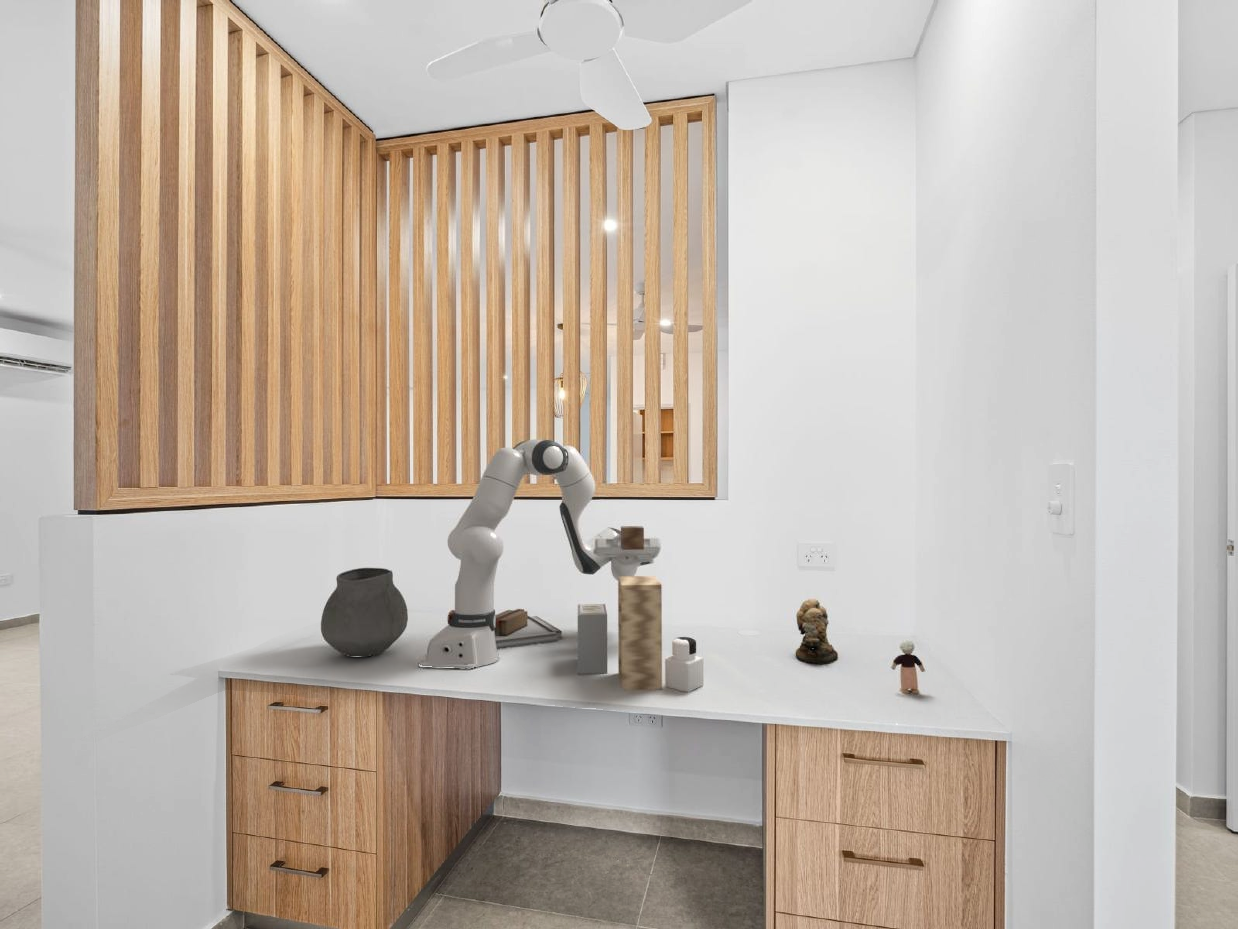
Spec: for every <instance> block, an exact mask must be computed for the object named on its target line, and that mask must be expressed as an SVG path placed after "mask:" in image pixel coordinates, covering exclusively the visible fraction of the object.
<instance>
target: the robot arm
mask: <svg viewBox="0 0 1238 929" xmlns="http://www.w3.org/2000/svg"><path fill="white" fill-rule="evenodd" d="M482 474H483V475H482V476H481V478H480V480H479V483H478V486H477V488H476V490H475V493H474V495H473V496H472V497H473V498H472V500H471V502H470V503H469V504H468V506H467V508H466V510H465V511H464V512H463V514H462V516H461V517H460V519H459V521H458V523H457V524H456V525H455V527H454V528H453V529H452V530H451V531H450V532H449V535H448V537H447V547H448V549H449V551H450V552H451V554H452V555H453V556H454V557H455V558H456V559H457V560H460V566H459V571H458V577H457V580H456V581H455V584H454V609H451V610H450V611H449V612H448V614H447V624H448V625H446V626H445V627H444V628H442V629H441V630H439V632H438V633H436V634H435V635H434V636H432V638H431V639H430V641H428V642H429V643H428V644H427V649H426V653H425V654H423V655H422V656H421V657H419V659H418V664H420V665H422V666H432V667H454V668H467V669H466V670H472V669H471V668H473V669H475V668H474V667H476V668H479V667H482V666H488V665H491V664H493V663H496V662H498V661H499V660H500V655H499V652H498V649H497V647H496V641H495V632H494V630H495V626H496V615H497V614H496V610H495V609H494V608H495V606H494V605H495V603H494V602H495V599H494V598H495V597H494V596H495V595H494V594H495V592H494V591H495V579H496V574H497V568H498V565H499V560H500V558H501V557H502V555H503V553H504V541H503V540H502V538H501V535H499V534H498V533H497V532H496V529H497V527H498V526H499V524H500V523H501V522H502V520H504V518H505V517H506V516H507V515H508V514H509V511H510V508H511V506H512V504H513V501H514V499H515V496H516V494H517V491H518V489H519V486H520V483H521V481H522V479H523V478H524V477H525V476H526V475H533V476H551V475H552V476H553V477H554V478H555V480H556V482H557V484H558V486H559V488H560V491H561V503H560V505H559V513H560V517H561V520H562V524H563V527H564V531H565V534H566V537H567V539H568V544H569V547H570V550H571V555H572V556H571V557H572V559H573V563H574V565H575V568H576V569H577V570H578V571H579V572H580V573H581V574H584V575H595V574H596V573H597V572H599V570H601V569H602V568H603V567H604V566H605V565H607V564H608V563H610V570H611V576H612V577H613V578H614V579H615V580H616V581H618V577H620V576H635V575H636V573H637V570H638V567H641V566H646V565H653V563H655V562H654V561H655V559H656V558H657V557H658V555H659V554H660V552H661V547H662V546H661V538H659V537H644V550H622V548H621V529H620V530H619V529H617V528H614V527H607V528H605V529H603V530H602V531H601V532H599V533H597V534H596V535H595V536H593V537H592V538H590V539H588V540H587V541H586V542H585V541H584V538H583V534H582V532H581V528H580V524H579V523H580V522H579V521H580V517H581V515H582V513H583V511H584V509H585V508H586V507H587V506H588V505H589V503H590V502H591V500H592V499H593V497H594V496H595V491H596V482H595V478H594V476H593V474H592V472H591V470H590V468H589V466H588V465H587V463H586V461H585V460H584V458H583V457H582V455H581V454H580V452H579V451H578V450H577V448H576V447H574V446H572V445H560V444H559V443H558V442H557V441H554V440H551V439H539V438H537V439H529V440H524V441H521V442H519V443H517V444H516V445H514V447H512V448H511V447H502V448H499V449H497V450H496V452H495V453H494V454H493V456H492V457H491V459H490V460H489V463H488V464H487V466H486V468H485V470H484V472H483V473H482Z"/></svg>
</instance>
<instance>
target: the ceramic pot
mask: <svg viewBox="0 0 1238 929" xmlns="http://www.w3.org/2000/svg"><path fill="white" fill-rule="evenodd" d="M393 574H394V573H393V571H392V570H390V569H388V568H383V567H360V568H353V569H350V570H346V571H343V572H341V573H338V575H337V576H336V578H335V579H336V587H335V589H334V590H333V592H332V593H331V594H330V596H329V597H328V599H327V600H326V603H325V605H324V608H323V611H322V614H321V620H320V631H321V635H322V637H323V640H324V641H325V643H327V644H328V645H329V646H331V647H332V648H333V650H335V651H337V652H339V653H341V654H342V655H345V656H347V655H349V656H367V657H370V656H369V655H372V656H374V654H375V655H377V654H380V653H382V652H384V651H386V650H388V649H390V647H392V645H393V644H395V642H396V641H397V640H399V638H400V637H401V636H402V635H403V634H404V632H405V630H406V629H407V627H408V620H409V615H408V613H409V612H408V607H407V603H406V600H405V598H404V597H403V596H404V595H403V594H402V593H401V591H400V590H399V589H398V588H397V586H396V585H395V584H394V580H393V576H394V575H393ZM349 656H348V657H349Z"/></svg>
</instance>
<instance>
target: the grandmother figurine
mask: <svg viewBox="0 0 1238 929" xmlns="http://www.w3.org/2000/svg"><path fill="white" fill-rule="evenodd" d="M915 647H916V646H915V644H914V642H913V641H912V640H910V639H904V640H901V642H900V643H899V648H900V649H899V650H901V651H902V653H904V654H899V655H897V656H896V657H895V658H894V660H893V661H892V665H891V666H890V668H891V670H896V669H897V668H896V667H897V666H899V665H900V688H899V691H900V693H903V694H910V692H911V693H912V694H919V693H920V689H919V685H918V684H919V682H918V674H917V668H916V666H917V667H918V668H919V669H920V670H919V671H920V672H922V673H924V672H926V669H925V667H924V665H923V662H922V661H921V659H919V657H918V656H917V655H915V654H913V652H914V650H915ZM909 690H910V691H909Z"/></svg>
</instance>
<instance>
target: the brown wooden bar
mask: <svg viewBox="0 0 1238 929" xmlns="http://www.w3.org/2000/svg"><path fill="white" fill-rule="evenodd" d="M620 531H621V548H622V550H644V538H645V528H644V526H641V525H637V526H635V525H634V526H632V525H631V526H629V525H628V526H627V525H625V526H624V525H623V526H620Z"/></svg>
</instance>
